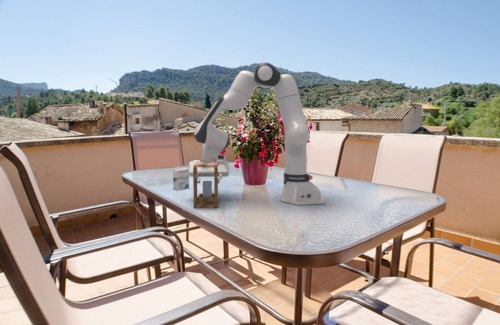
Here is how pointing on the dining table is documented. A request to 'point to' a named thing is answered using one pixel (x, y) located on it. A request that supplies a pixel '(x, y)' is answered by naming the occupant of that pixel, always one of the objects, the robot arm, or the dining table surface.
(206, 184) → the peg
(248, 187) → the dining table surface
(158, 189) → the dining table surface
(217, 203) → the wooden frame stand
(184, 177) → the ink box
